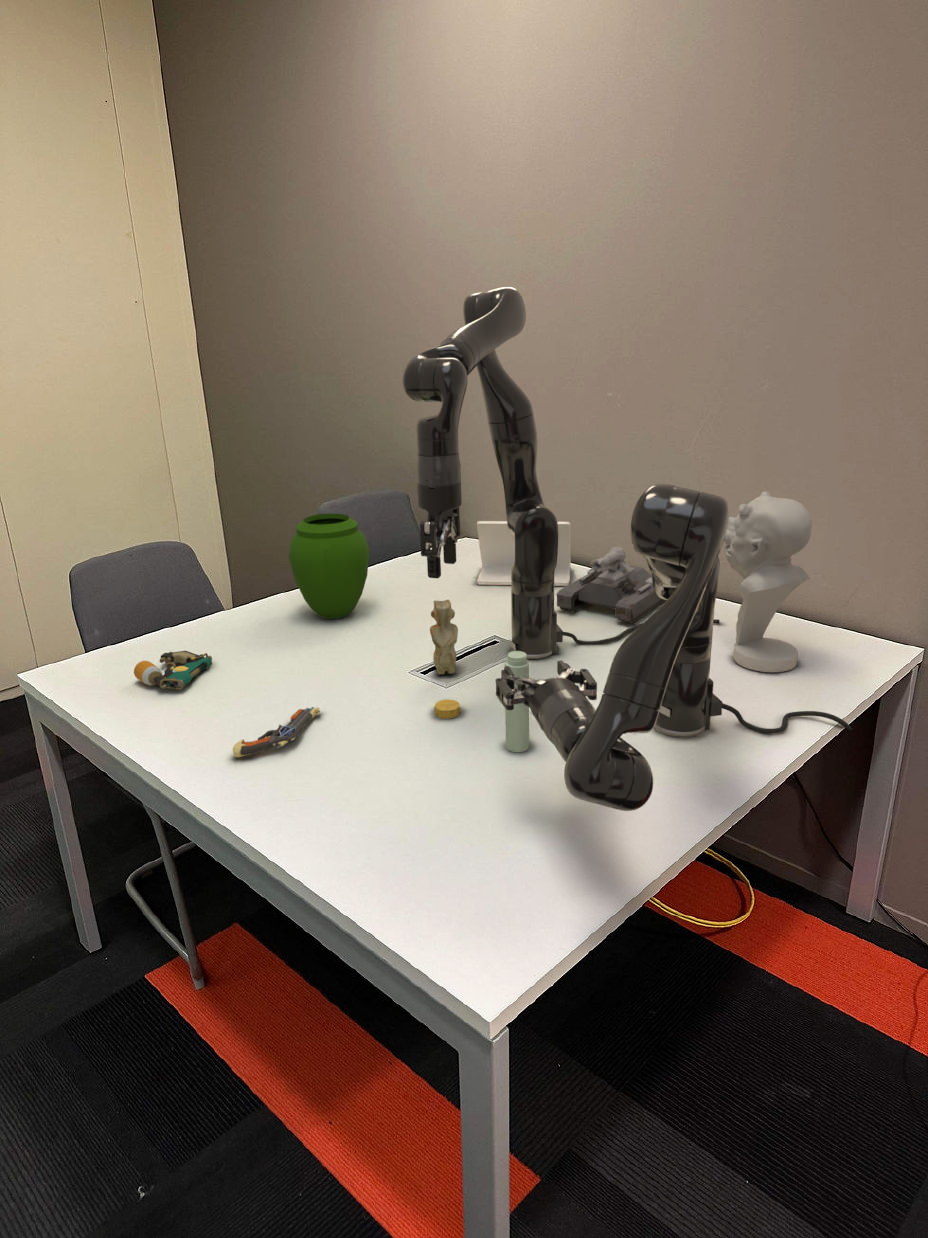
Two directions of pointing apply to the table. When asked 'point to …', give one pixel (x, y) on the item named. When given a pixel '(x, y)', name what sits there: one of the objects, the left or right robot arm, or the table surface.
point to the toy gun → (277, 734)
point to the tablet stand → (501, 553)
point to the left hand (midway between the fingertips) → (442, 570)
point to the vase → (329, 563)
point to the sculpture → (444, 637)
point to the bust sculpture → (766, 575)
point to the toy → (612, 588)
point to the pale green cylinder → (517, 707)
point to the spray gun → (172, 669)
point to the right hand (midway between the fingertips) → (532, 669)
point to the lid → (447, 709)
